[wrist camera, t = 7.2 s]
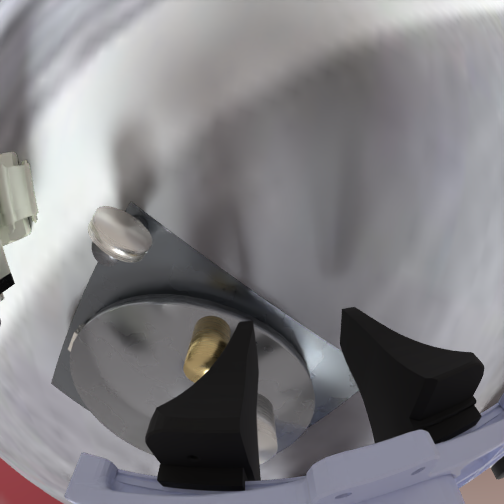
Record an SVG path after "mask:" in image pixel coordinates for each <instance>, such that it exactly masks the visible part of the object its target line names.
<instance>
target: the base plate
mask: <svg viewBox="0 0 504 504" xmlns="http://www.w3.org/2000/svg"><path fill="white" fill-rule="evenodd" d="M125 212H127V213H128V214H130V215H132V216H133V215H138V216H141V217H143V218H144V219H145V220H146V222H147V223H148V226H149V233H150V234H151V237H152V245H151V247H150V248H149V250H148V251H147V253H146V255H145V256H144V258H143V259H142V260H141V261H139V262H134V263H130V262H124V261H119V262H118V263H117V264H116V265H114V266H110V267H108V266H104V265H102V264H100V263H99V262H98V263H97V265H96V267H95V269H94V271H93V273H92V276H91V278H90V280H89V282H88V284H87V287H86V289H85V291H84V293H83V296H82V298H81V300H80V303H79V305H78V307H77V310H76V312H75V315H74V317H73V320H72V323H71V325H70V328H69V330H68V333H67V336H66V339H65V341H64V344H63V347H62V350H61V353H60V356H59V359H58V362H57V366H56V369H55V372H54V376H53V379H52V383H51V384H52V385H54V386H55V387H56V388H58V389H59V390H60V391H62V392H63V393H64V394H66V395H67V396H68V397H70V398H71V399H73V400H74V401H75V402H77V403H78V404H80V405H81V406H83V407H84V408H86V409H87V410H89V409H88V408H87V406H86V405H85V404H84V402H83V401H82V399H81V397H80V396H79V394H78V392H77V390H76V387H75V385H74V382H73V379H72V375H71V370H70V353H71V352H70V351H69V350H68V347H69V345H70V342H71V339H72V337H73V334H74V332H75V331H76V329H77V328H78V327H79V326H80V325H81V324H82V323H83V324H85V325H86V324H87V323H88V321H89V320H90V319H91V318H92V317H93V316H94V315H95V314H96V313H98V312H99V311H100V310H102V309H103V308H104V307H106V306H108V305H110V304H113V303H115V302H117V301H120V300H123V299H127V298H130V297H135V296H141V295H148V294H174V295H184V296H192V297H197V298H202V299H207V300H211V301H214V302H218V303H221V304H224V305H227V306H230V307H233V308H235V309H238V310H240V311H242V312H245V313H247V314H249V315H251V316H253V317H255V318H257V319H258V320H260V321H262V322H264V323H265V324H267V325H269V326H270V327H271V328H273V329H274V330H275V331H277V332H278V333H280V334H281V335H282V336H283V337H284V338H285V339H286V340H287V341H288V342H289V343H290V344H292V345H293V346H294V348H295V349H296V350H297V352H298V353H299V354H300V356H301V357H302V358H303V360H304V362H305V364H306V366H307V368H308V371H309V374H310V378H311V381H312V385H313V389H314V393H315V408H314V414H313V417H312V419H311V422H310V424H309V425H308V427H310V426H311V425H313V424H314V423H316V422H317V421H318V420H320V419H321V418H323V417H324V416H326V415H327V414H329V413H330V412H331V411H333V410H334V409H335V408H337V407H338V406H339V405H341V404H342V403H343V402H345V401H346V400H347V399H349V398H350V397H351V396H353V395H354V394H355V393H356V392H358V391H359V389H358V387H357V384H356V382H355V380H354V378H353V376H352V374H351V372H350V370H349V367H348V365H347V363H346V361H345V358H344V355H343V352H342V351H341V350H339V349H338V348H336V347H335V346H333V345H332V344H330V343H329V342H327V341H326V340H324V339H323V338H321V337H320V336H318V335H317V334H315V333H314V332H312V331H311V330H309V329H308V328H306V327H305V326H303V325H302V324H300V323H299V322H297V321H296V320H294V319H293V318H291V317H290V316H288V315H287V314H285V313H284V312H282V311H281V310H280V309H278V308H277V307H275V306H274V305H272V304H271V303H269V302H268V301H266V300H265V299H264V298H262V297H261V296H259V295H258V294H256V293H255V292H254V291H252V290H251V289H249V288H248V287H246V286H245V285H244V284H242V283H241V282H239V281H238V280H237V279H235V278H234V277H232V276H231V275H229V274H228V273H227V272H225V271H224V270H222V269H221V268H220V267H218V266H217V265H216V264H214V263H213V262H211V261H210V260H209V259H207V258H206V257H204V256H203V255H202V254H200V253H199V252H198V251H196V250H195V249H194V248H192V247H191V246H189V245H188V244H187V243H185V242H184V241H183V240H181V239H180V238H179V237H177V236H176V235H175V234H173V233H172V232H171V231H169V230H168V229H167V228H165V227H164V226H163V225H161V224H160V223H159V222H157V221H156V220H155V219H153V218H152V217H151V216H149V215H148V214H147V213H145V212H144V211H143V210H141V209H140V208H139V207H138V206H136V205H135V204H134V203H132V202H130V204H129V206H128V207H127V209H126V211H125ZM89 411H90V410H89ZM308 427H307V428H308ZM307 428H306V429H307Z"/></svg>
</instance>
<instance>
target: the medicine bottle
mask: <svg viewBox="0 0 504 504" xmlns="http://www.w3.org/2000/svg"><path fill="white" fill-rule="evenodd" d="M490 468H491V469H492V471H493V473H494V475H495V477H496V479H501V478H503V477H504V456H503V457H502V458H501V459H499V460H498V461H497V462H496V463H494V464H493V465H492V466H490Z"/></svg>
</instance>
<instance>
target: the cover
mask: <svg viewBox="0 0 504 504" xmlns="http://www.w3.org/2000/svg"><path fill="white" fill-rule="evenodd" d="M257 434H258V450H259V464H262V463H264V462H266V461H268V460H270V459H271V458H272V457H273V456H274V455H275V454H276V452H277V449H278V446H277V437H276V427H275V418H274V410H273V406H272V404H271V403H270V401H269V400H268V399H267V398H265V397H264V396H262V395H261V394H258V396H257Z"/></svg>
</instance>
